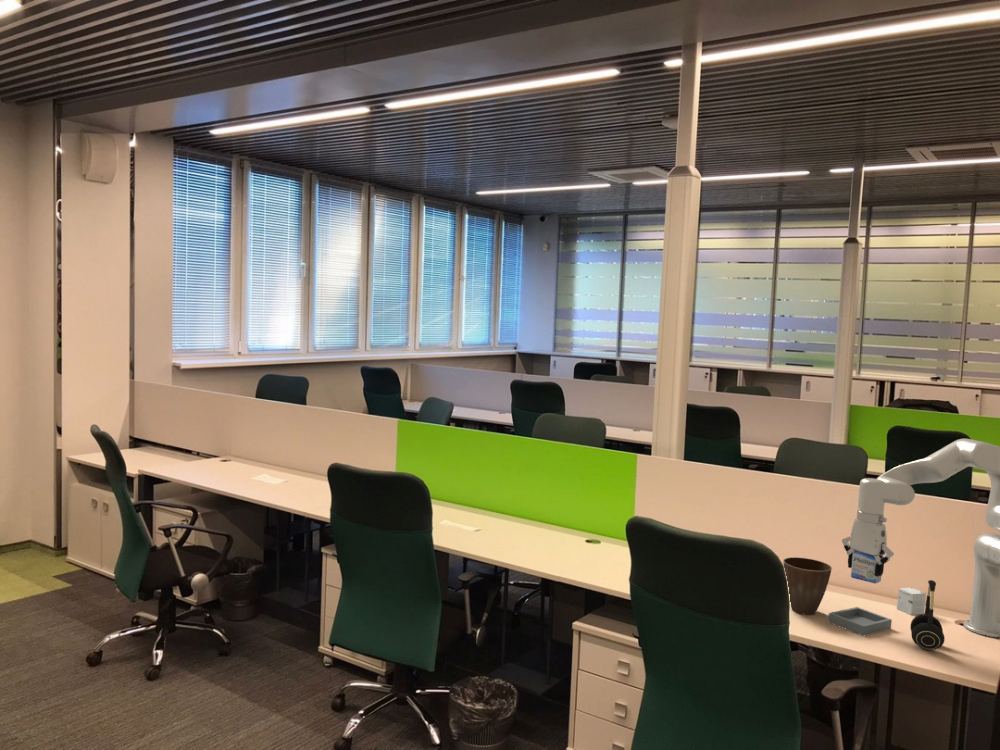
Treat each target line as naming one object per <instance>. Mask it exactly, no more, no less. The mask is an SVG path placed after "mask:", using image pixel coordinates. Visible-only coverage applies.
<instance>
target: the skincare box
mask: <svg viewBox="0 0 1000 750" xmlns="http://www.w3.org/2000/svg"><path fill="white" fill-rule="evenodd" d="M926 599H927V593H926V592H923V591H921V590H919V589H916V588H913V587H900V588H899V589H898V596H897V602H896V609H897V610H898V611H901V612H903V613H906V614H908V615H909V616H914V615H916V616H918V615H921V614H925V607H926Z"/></svg>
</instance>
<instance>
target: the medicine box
mask: <svg viewBox="0 0 1000 750" xmlns="http://www.w3.org/2000/svg"><path fill="white" fill-rule="evenodd" d="M875 564H877V561H876V559H875V557H874V556H872V555H869V554H865V553H862V552H859V551H856V550H855V551H853V557H852V568H850V569H851V571H850V578H852V579H856V580H860V581H863V582H867V583H871V584H875V585H876V584H878V583H880V582H881V581H882V576H875Z"/></svg>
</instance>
